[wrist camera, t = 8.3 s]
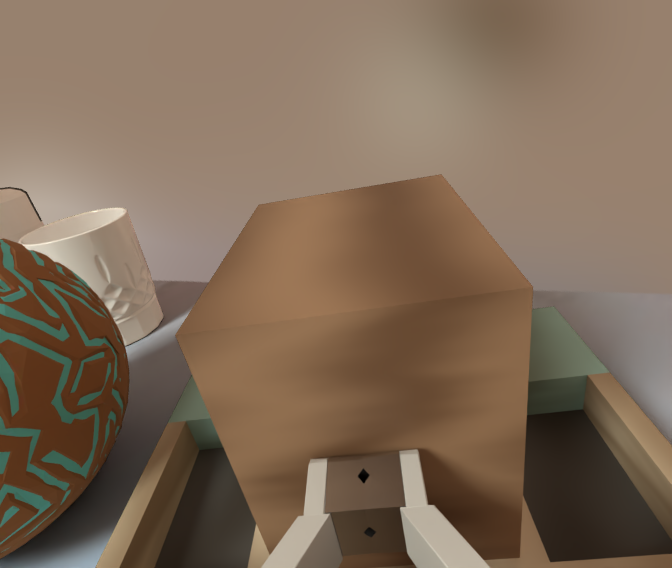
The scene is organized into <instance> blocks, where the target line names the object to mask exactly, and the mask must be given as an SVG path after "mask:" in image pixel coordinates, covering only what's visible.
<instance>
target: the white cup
mask: <svg viewBox="0 0 672 568" xmlns="http://www.w3.org/2000/svg"><path fill="white" fill-rule="evenodd" d="M18 243H20V244H22V245H23V246H24V247H25V248H26V249H28V250H34V251H37V252H40V253H42V254H45V255H47V256H48V257H49V258H51V259H52V260H53V261H54V262H59V263H61V264H62V265H64V266H65V267H67V268H68V269H70V270H72V271H73V272H74V273H75V274H76V275H78V276H79V277H80V278H81V279H83V280H84V281H85V282H86V283H87V284H88V286H89V287H91V289H92V290H93V291H94V292H95V293H96V294H97V295H98V297H99V298H100V299H101V300H102V301H103V303H104V304H105V306H106V307H107V308H108V310H109V312H110V314H111V315H112V317H113V319H114V321H115V323H116V324H117V326H118V328H119V330H120V333H121V335H122V337H123V341H124V345H125V346H126V345H129V344H131V343H133V342H135V341H138V340H139V339H141V338H143V337H145V336H146V335H148V334H149V333H151V332H152V331H153V330H154V329H155V328H157V327H158V326H159V324H160V322H161V321H162V319H163V317H164V316H163V313H162V310H161V307H160V304H159V302H158V299H157V296H156V293H155V286H154V283H153V281H152V278H151V274H150V271H149V268H148V266H147V263H146V261H145V258H144V255H143V252H142V250H141V247H140V244H139V241H138V239H137V236H136V233H135V231H134V228H133V225H132V222H131V220H130V217H129V214H128V211H127V210H126V209H125V208H106V209H100V210H95V211H90V212H86V213H81V214H78V215H74V216H71V217H67V218H65V219H61V220H58V221H55V222H53V223H50V224H47V225H45V226H42V227H40V228H38V229H36V230H33V231H31V232H30V233H28V234H26V235H25V236H23V237H22V238H21V239H20V240H19V241H18Z"/></svg>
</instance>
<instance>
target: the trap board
mask: <svg viewBox="0 0 672 568" xmlns="http://www.w3.org/2000/svg"><path fill="white" fill-rule="evenodd" d="M269 556H270V554H269V552H268V550H267V547H266V545H265V543H264V540H263V538H262V536H261V533H260V531H259V529H258V527H257V524H256V522H255V520H254V517H253V515H252V513H251V510H250V508H249V506H248V503H247V501H246V499H245V496H244V494H243V492H242V489H241V487H240V485H239V482H238V480H237V478H236V475H235V473H234V471H233V468H232V466H231V464H230V461H229V459H228V457H227V454H226V452H225V450H224V447H223V445H222V443H221V441H220V438H219V436H218V434H217V431H216V429H215V427H214V424H213V422H212V420H211V417H210V415H209V413H208V410H207V408H206V406H205V403H204V401H203V399H202V396H201V394H200V392H199V389H198V387H197V385H196V382H195V380H194V378H193V375H191V377H190V379H189V381H188V383H187V385H186V387H185V389H184V391H183V393H182V395H181V397H180V399H179V401H178V403H177V405H176V407H175V409H174V411H173V413H172V415H171V417H170V419H169V421H168V423H167V425H166V427H165V429H164V431H163V433H162V435H161V437H160V439H159V441H158V443H157V445H156V447H155V449H154V451H153V453H152V455H151V457H150V459H149V461H148V463H147V465H146V467H145V469H144V471H143V473H142V475H141V477H140V479H139V481H138V483H137V485H136V487H135V489H134V491H133V493H132V495H131V497H130V499H129V501H128V503H127V505H126V507H125V509H124V511H123V513H122V515H121V517H120V519H119V521H118V523H117V525H116V527H115V529H114V531H113V533H112V535H111V537H110V539H109V541H108V543H107V545H106V547H105V549H104V551H103V553H102V555H101V557H100V559H99V561H98V563H97V565H96V567H95V568H261V567H262V566H263V564H264V563H265V561H266V560H267V559H268V557H269ZM484 561H485V562H486V563H487V564H488V565H489V566H490V568H672V445H671V444H670V443H669V442H668V441H667V439H666V438H665V437H664V436H663V435H662V434H661V432H660V431H659V430H658V429H657V428H656V426H655V425H654V424H653V423H652V422H651V421H650V419H649V418H648V417H647V416H646V415H645V413H644V412H643V411H642V410H641V409H640V408H639V406H638V405H637V404H636V403H635V402H634V400H633V399H632V398H631V397H630V396H629V395H628V393H627V392H626V391H625V390H624V389H623V387H622V386H621V385H620V384H619V383H618V382H617V380H616V379H615V378H614V377H613V376H612V374H611V373H610V372H609V371H608V370H607V369H606V367H605V366H604V365H603V364H602V363H601V361H600V360H599V359H598V358H597V357H596V356H595V354H594V353H593V352H592V351H591V350H590V348H589V347H588V346H587V345H586V344H585V343H584V341H583V340H582V339H581V338H580V337H579V335H578V334H577V333H576V332H575V331H574V330H573V328H572V327H571V326H570V325H569V324H568V322H567V321H566V320H565V319H564V318H563V317H562V315H561V314H560V313H559V312H558V311H557V309H556V308H555V307H554V306H553V307H546V308H538V309H532V319H531V339H530V360H529V380H528V401H527V421H526V442H525V462H524V483H523V503H522V523H521V544H520V558H510V559H495V560H484ZM376 568H417V567H416V566H415V565H406V566H391V567H376Z"/></svg>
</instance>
